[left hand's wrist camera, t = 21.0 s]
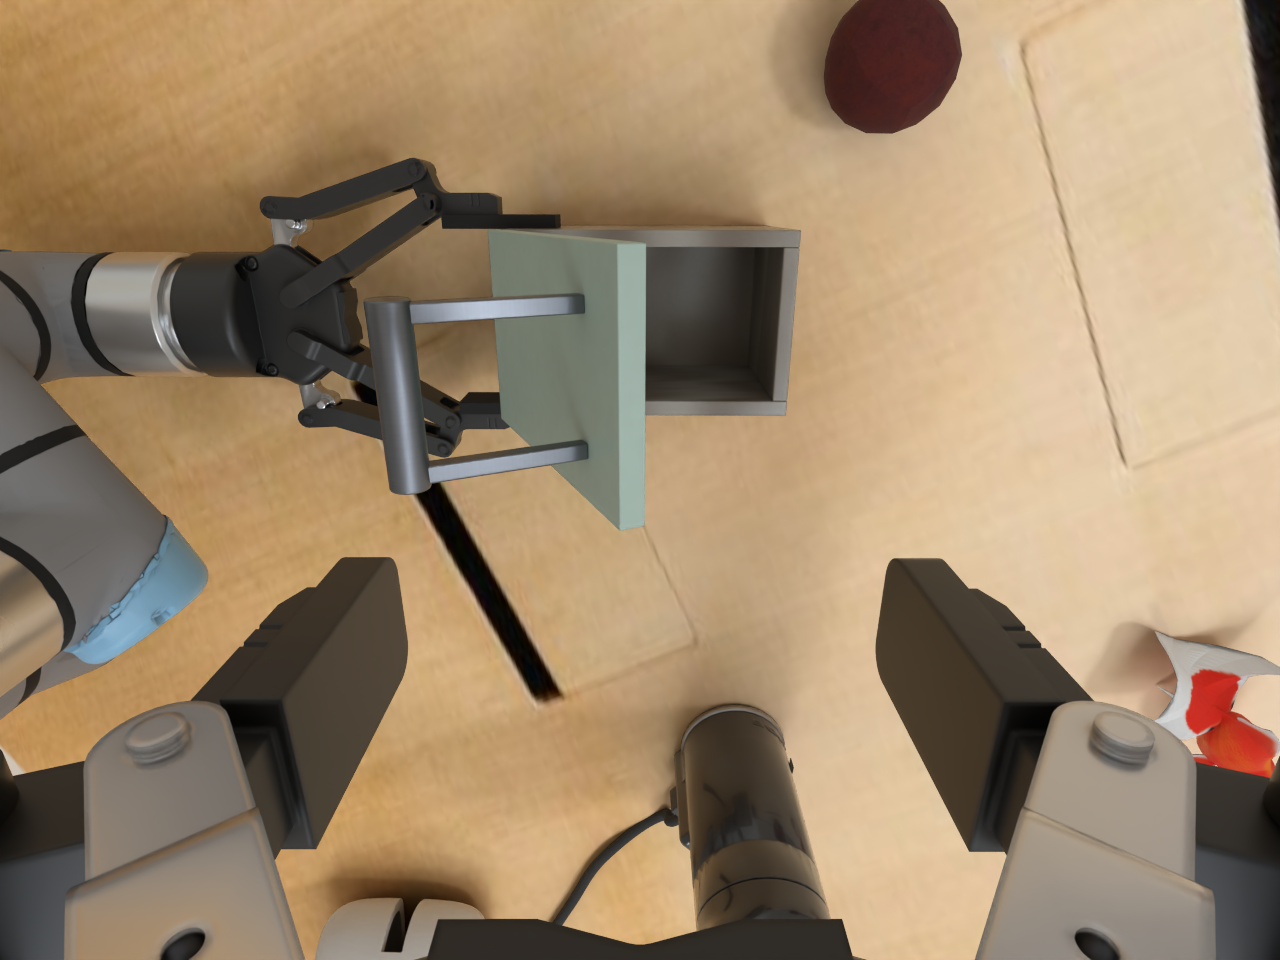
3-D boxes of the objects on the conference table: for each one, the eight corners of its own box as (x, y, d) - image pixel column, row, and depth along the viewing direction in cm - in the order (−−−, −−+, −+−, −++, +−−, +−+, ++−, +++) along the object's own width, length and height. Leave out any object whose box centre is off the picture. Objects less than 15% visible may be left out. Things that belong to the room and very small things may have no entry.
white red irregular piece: (1143, 814, 61) (1262, 856, 51) (1070, 643, 62) (1173, 652, 52) (1233, 764, 63) (1364, 795, 53) (1161, 600, 64) (1276, 601, 55)
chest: (767, 225, 47) (801, 230, 37) (757, 374, 51) (786, 416, 41) (530, 225, 48) (499, 229, 37) (537, 374, 51) (511, 415, 41)
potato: (867, -24, 42) (909, -67, 36) (955, 65, 44) (1011, 40, 37) (786, 85, 44) (812, 64, 38) (874, 166, 46) (913, 159, 39)
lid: (646, 242, 23) (366, 247, 19) (645, 526, 27) (410, 574, 23) (507, 229, 37) (330, 231, 33) (519, 416, 41) (360, 436, 37)
